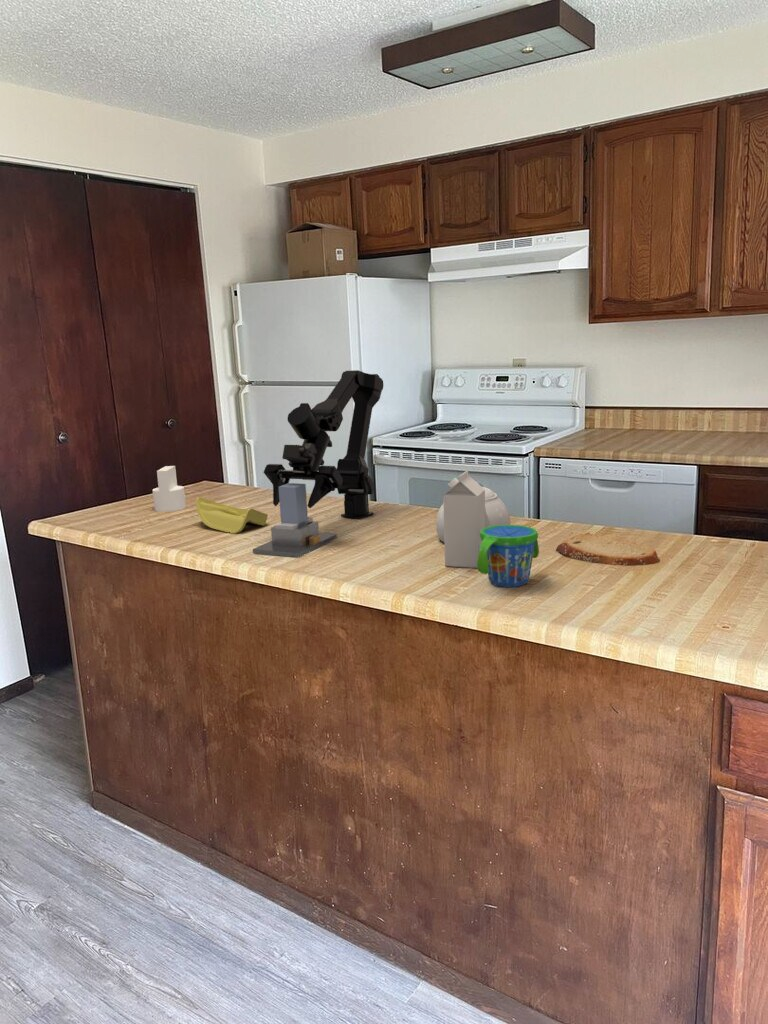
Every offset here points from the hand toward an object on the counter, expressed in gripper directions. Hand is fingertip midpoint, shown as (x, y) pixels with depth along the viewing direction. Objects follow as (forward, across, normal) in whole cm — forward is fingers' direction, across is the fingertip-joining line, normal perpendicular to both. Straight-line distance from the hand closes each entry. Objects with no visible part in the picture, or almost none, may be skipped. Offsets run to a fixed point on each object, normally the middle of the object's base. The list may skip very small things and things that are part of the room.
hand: (291, 506), depth 179 cm
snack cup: (+15, +55, -1) cm, 57 cm away
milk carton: (+8, +42, +6) cm, 44 cm away
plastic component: (-3, -28, +17) cm, 33 cm away
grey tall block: (+5, 0, +6) cm, 8 cm away
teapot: (-6, +38, +20) cm, 43 cm away
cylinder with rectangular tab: (-13, -60, +27) cm, 66 cm away
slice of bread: (-2, +69, +16) cm, 70 cm away
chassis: (+6, 0, +7) cm, 10 cm away
